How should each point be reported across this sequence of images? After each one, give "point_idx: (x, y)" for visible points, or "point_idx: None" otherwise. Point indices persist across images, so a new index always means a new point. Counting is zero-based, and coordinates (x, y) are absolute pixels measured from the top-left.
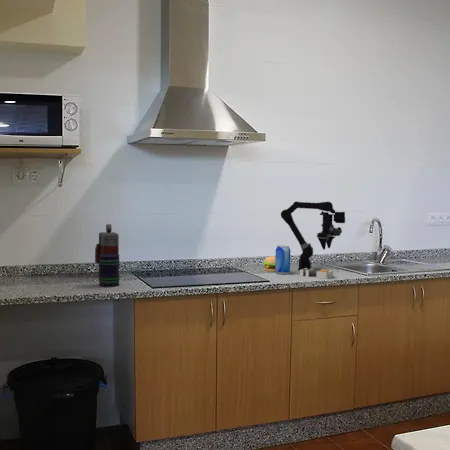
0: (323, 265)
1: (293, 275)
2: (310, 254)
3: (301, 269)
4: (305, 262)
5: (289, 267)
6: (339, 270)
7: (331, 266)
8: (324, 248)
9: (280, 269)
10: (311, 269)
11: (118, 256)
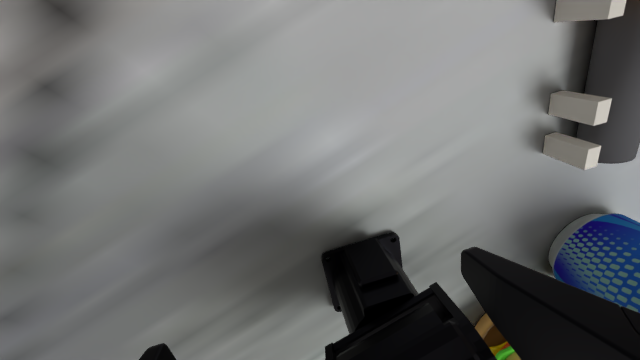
0: (47, 327)
1: (617, 168)
2: (464, 316)
3: (635, 156)
4: (414, 290)
5: (632, 231)
6: (157, 72)
7: (15, 265)
8: (496, 260)
9: None
10: (604, 106)
11: None
